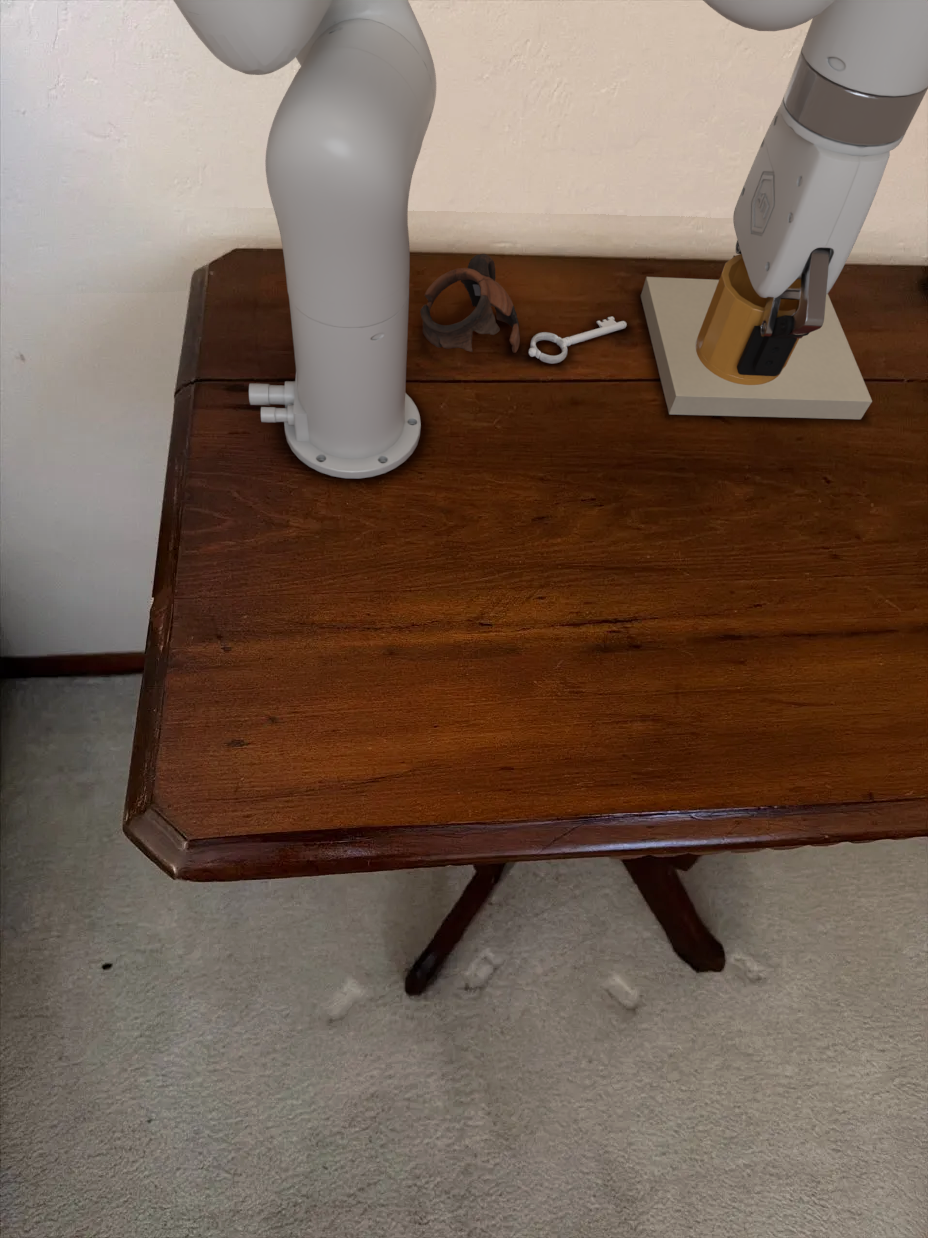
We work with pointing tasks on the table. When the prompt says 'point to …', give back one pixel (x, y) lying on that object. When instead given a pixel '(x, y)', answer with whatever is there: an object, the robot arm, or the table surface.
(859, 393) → the board
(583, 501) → the table surface
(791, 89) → the robot arm
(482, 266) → the brown grey ring-shaped piece
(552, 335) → the key
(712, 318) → the cup
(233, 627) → the table surface
